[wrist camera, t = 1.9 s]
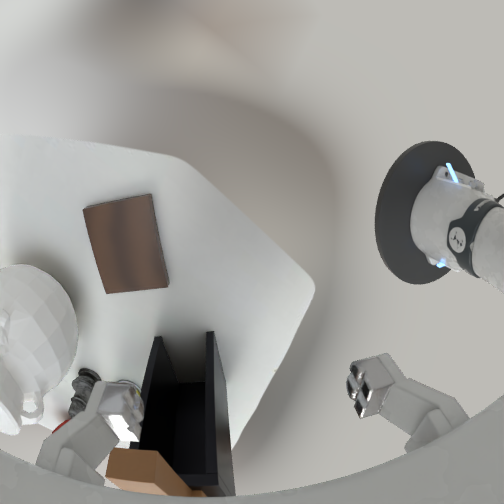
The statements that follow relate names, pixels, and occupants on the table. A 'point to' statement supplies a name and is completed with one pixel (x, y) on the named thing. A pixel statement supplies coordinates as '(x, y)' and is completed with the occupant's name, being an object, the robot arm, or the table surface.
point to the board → (126, 244)
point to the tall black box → (188, 421)
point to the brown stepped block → (146, 473)
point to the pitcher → (32, 342)
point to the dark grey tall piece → (82, 390)
